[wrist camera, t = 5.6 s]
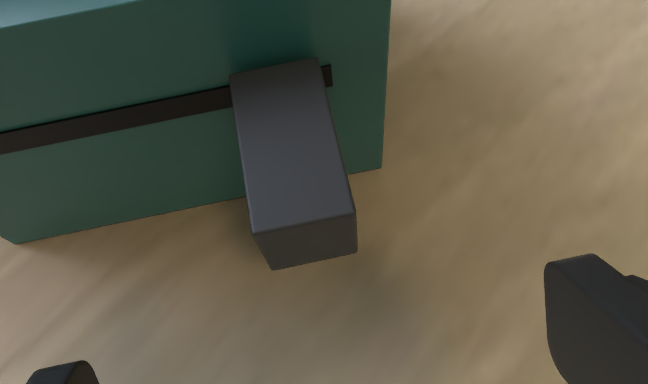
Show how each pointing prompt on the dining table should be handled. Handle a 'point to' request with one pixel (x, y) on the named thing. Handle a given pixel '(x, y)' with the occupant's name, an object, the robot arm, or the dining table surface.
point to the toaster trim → (123, 118)
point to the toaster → (162, 82)
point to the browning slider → (292, 165)
